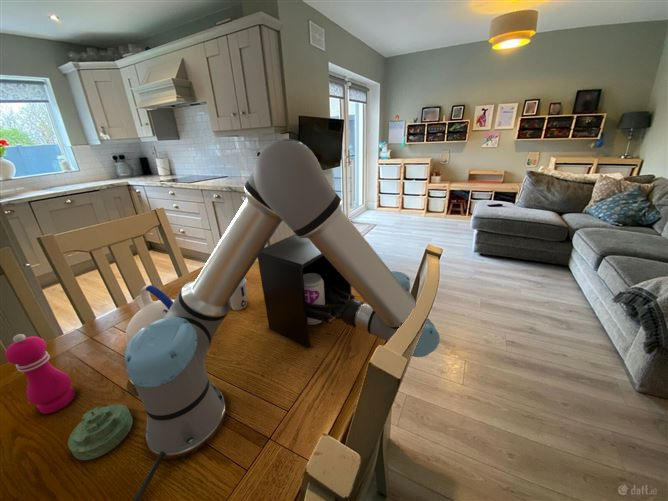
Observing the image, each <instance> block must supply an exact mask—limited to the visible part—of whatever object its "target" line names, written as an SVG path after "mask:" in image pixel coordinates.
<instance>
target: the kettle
mask: <svg viewBox="0 0 668 501" xmlns="http://www.w3.org/2000/svg"><path fill="white" fill-rule="evenodd" d="M139 292H140V294H139V295H137V296H136V297H135V298H134V300H133V301H134V302H135V303H136V304H137V306H138V307H139V308H140V309H139V310H138V311H136V313H135V314H134V315H133V316H132V317H131V319H130V321H129V323H128V324H127V326H126V328H125V329H126V330H125V335H124V336H125V337H124V339H125V344H126V346H127V345H128V343H129V342H130V340H131V339H132V338H133V337H134V335H136V334H137V333H138V332H139V331H140V330H141V329H143V328H147V327H149V324H151V323H153V322H155V321H157V320H160V319H163V318H164V316H165V315H166V313H167V312H168V311H169V309H170V307H171V306H172V304H173V303H174V301H175V299H173V298H170V297H169V296H168V295H167V294H166V293H165V292H164V291H162V290H161V289H160V288H158V287H156V286H154V285H153V284H146V285H143V287H142V288H141V289H140V291H139ZM151 295H153V296H154V297H156V298H157V299H158V300H153V298H152V297H151Z"/></svg>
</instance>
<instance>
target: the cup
mask: <svg viewBox="0 0 668 501" xmlns="http://www.w3.org/2000/svg"><path fill="white" fill-rule="evenodd" d="M230 300H231V309H232V310H234V311H240V310H243V309H244V308H246V306H247V304H248V284H247V279H246V277H244V278H243V280H242V281H241V283H240V284H239V286H238V287H237V289H236V290H235V292H234V293H233V295H232V296H231V298H230Z"/></svg>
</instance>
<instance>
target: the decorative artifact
mask: <svg viewBox="0 0 668 501" xmlns="http://www.w3.org/2000/svg"><path fill="white" fill-rule="evenodd" d="M133 422H134V420H133V416H132V414H131V412H130V410H129V408H128V406H126V405H124V404H122V403H117V404H115V403H114V404H110V405H107V406H103V407H100V406H99V405H97V406H96V407H94V408H92V409H90V410H89V411H87V412H85V413H84V414H83V415H82V418H81V421H80V422H79V423H78V424H77V425H76V426H75V427H74V428H73V430H72V431H71V433H70V435H69V437H68V439H67V446H68V449H69V450H70V452H71V453H72V455H73V456H74V458H76V459H77V460H80V461H90V460H94V459H97V458H99V457H102V456H103V455H105V454H107V453H109V452H110V451H112V450H113V449H115V448H116V447H117V446H118V445H119V444H120V443H121V442H122V441H123V440H124V439H125V438H126V437H127V435H128V434H129V433H130V431H131V429H132V426H133Z"/></svg>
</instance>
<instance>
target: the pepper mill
mask: <svg viewBox="0 0 668 501" xmlns="http://www.w3.org/2000/svg"><path fill="white" fill-rule="evenodd" d="M12 341H13V342H12V343H11V344H10V345H9V346H8V347H7V348H6V350H5V353H4V356H5V359H6V361H7V362H8V363H10V364H12V365H15V368H16V369H17V371H18V372H20V373H23V374H24V375H25V376H26V379H27V387H26V397H27V400H28V402H29V403H30V404H32V405H36V408H37V409H38V411H39V412H40V413H41V414H45V415H47V414H51V413H55V412H57V411H60V410H61V409H63V408H64V407H66V406H68V405H69V403H71V402H72V401H73V400H74V398H75V396H76V392H75V390H74V388H73V386H71V385H72V378H70V376H69V375H68V374H67V373H66V372H65V371H63V370H60V369H59V368H56V367H54V366H53V365H52V364H51V362H50V357H51V356H50V354H49V352H48V351H47V345H48V344H47V342H46V341H45V340H44V339H43V338H41V337H39V336H34V335H33V336H32V335H31V336H26V335H25V334H23V333H18V334H16V335H14V336H13V338H12Z"/></svg>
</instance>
